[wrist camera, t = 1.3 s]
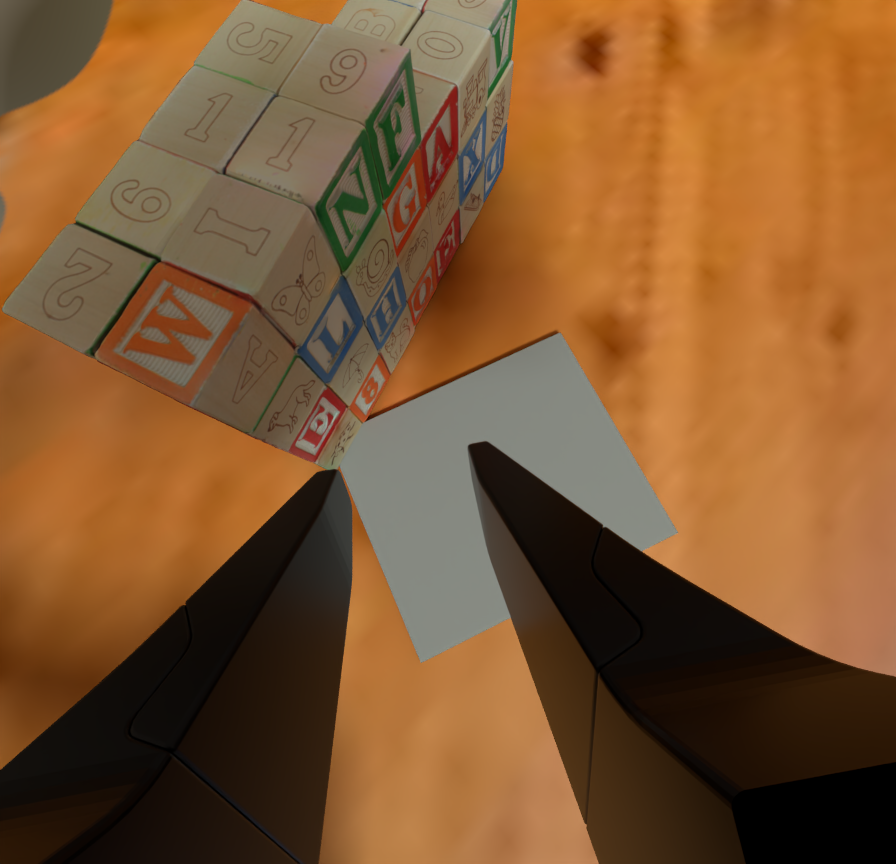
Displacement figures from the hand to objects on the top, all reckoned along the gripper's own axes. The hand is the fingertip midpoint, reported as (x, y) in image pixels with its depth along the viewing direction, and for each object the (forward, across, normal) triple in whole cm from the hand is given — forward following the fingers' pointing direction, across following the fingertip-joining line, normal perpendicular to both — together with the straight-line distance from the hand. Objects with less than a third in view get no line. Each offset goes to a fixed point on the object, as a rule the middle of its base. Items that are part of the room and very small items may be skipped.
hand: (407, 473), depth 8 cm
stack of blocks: (+19, +1, 0) cm, 19 cm away
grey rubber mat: (+10, -3, +9) cm, 14 cm away
